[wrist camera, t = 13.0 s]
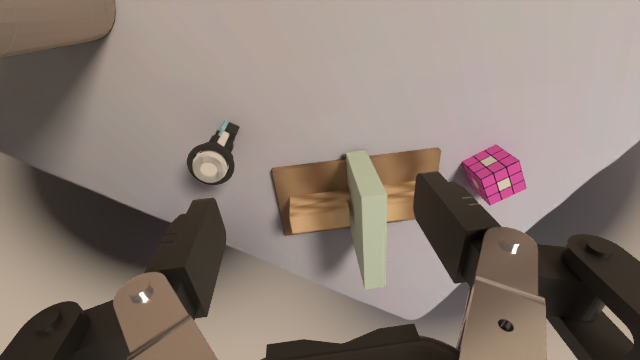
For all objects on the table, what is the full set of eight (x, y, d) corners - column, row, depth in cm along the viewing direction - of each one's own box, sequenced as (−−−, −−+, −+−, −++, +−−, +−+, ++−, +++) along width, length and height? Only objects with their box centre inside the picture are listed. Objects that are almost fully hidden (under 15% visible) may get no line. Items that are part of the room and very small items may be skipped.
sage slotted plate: (345, 152, 44) (361, 197, 34) (365, 149, 44) (387, 194, 34) (350, 233, 52) (364, 289, 42) (367, 231, 52) (385, 286, 42)
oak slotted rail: (285, 231, 52) (284, 259, 47) (272, 168, 46) (269, 190, 40) (430, 213, 53) (446, 238, 47) (438, 147, 46) (457, 167, 40)
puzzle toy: (470, 186, 51) (489, 206, 46) (461, 161, 48) (480, 179, 43) (503, 170, 49) (526, 188, 44) (495, 144, 47) (519, 160, 42)
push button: (233, 165, 45) (219, 203, 36) (198, 151, 43) (175, 187, 35) (250, 128, 42) (239, 160, 34) (213, 111, 41) (192, 140, 32)
